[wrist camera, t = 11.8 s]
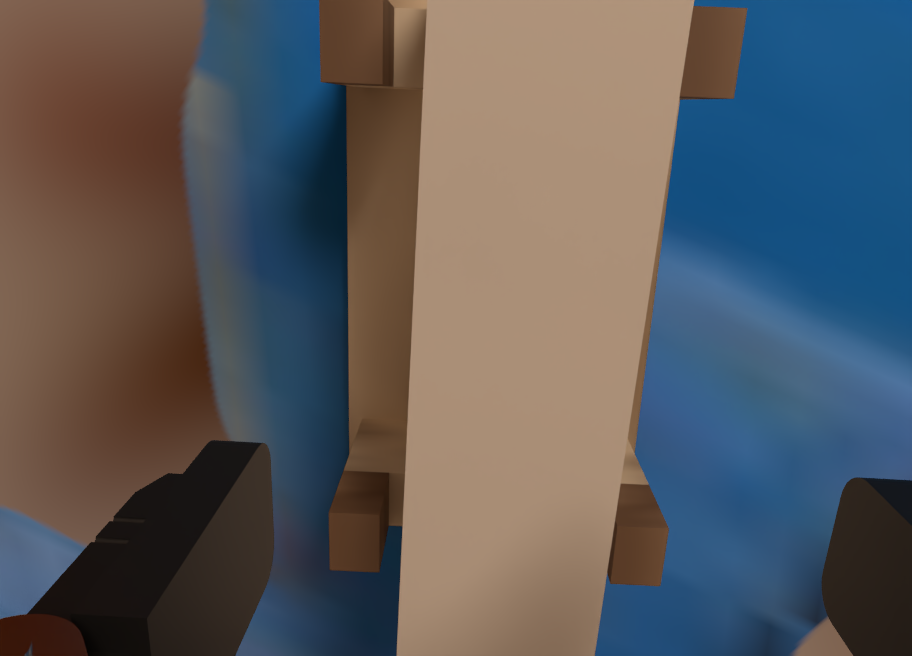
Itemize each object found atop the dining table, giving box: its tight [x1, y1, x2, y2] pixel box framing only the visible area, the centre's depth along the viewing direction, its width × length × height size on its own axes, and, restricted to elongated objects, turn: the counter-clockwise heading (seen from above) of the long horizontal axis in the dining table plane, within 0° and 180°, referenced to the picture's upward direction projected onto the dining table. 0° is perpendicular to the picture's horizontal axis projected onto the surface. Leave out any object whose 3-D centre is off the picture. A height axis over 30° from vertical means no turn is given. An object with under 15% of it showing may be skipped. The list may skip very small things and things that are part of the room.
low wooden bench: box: [319, 0, 747, 586], centre depth 23 cm, size 11×20×8 cm, turn 178°
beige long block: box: [397, 0, 694, 656], centre depth 18 cm, size 5×18×6 cm, turn 176°
